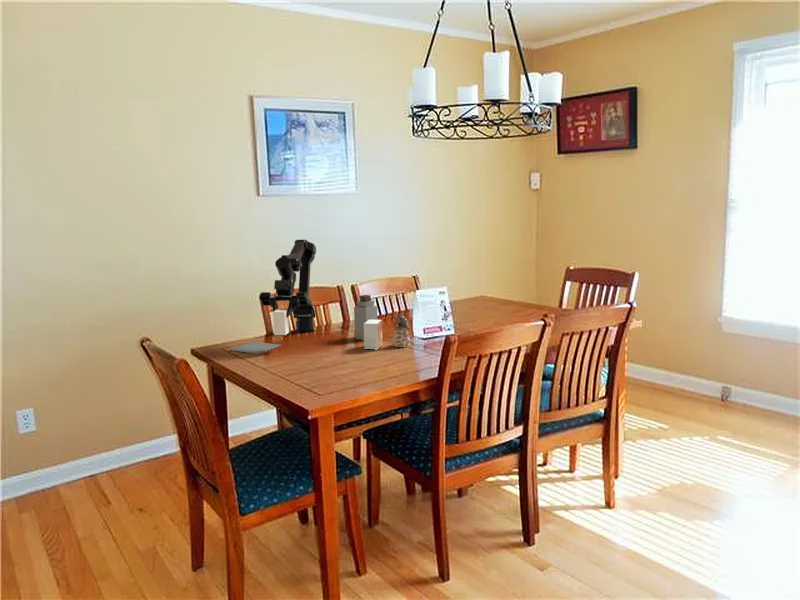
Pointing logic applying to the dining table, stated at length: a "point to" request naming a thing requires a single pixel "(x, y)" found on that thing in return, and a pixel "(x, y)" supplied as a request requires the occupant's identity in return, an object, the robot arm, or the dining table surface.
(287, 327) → the pale block
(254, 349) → the charcoal mat
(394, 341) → the figurine
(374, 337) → the small box
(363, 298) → the grey bottle
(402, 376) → the dining table surface
